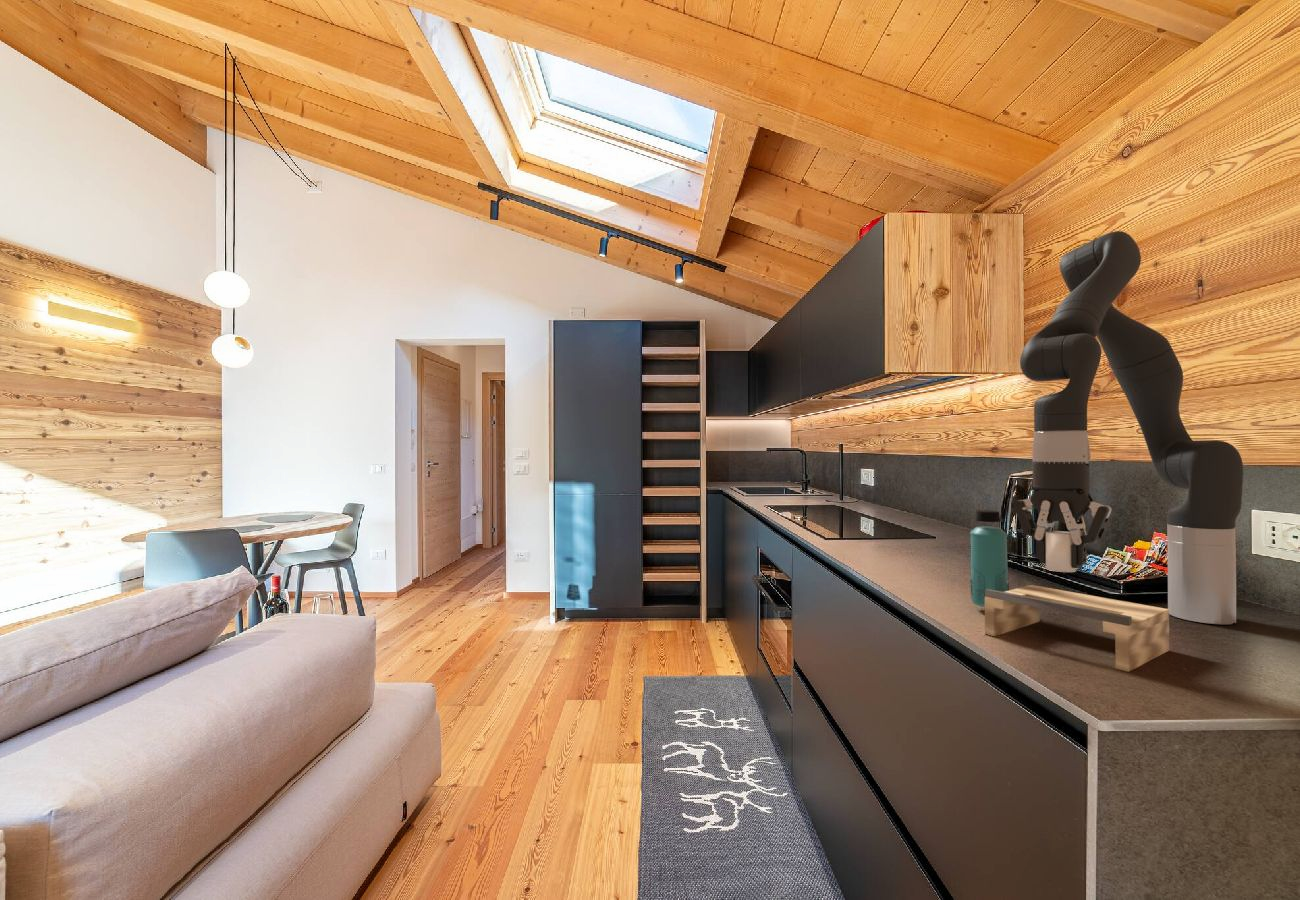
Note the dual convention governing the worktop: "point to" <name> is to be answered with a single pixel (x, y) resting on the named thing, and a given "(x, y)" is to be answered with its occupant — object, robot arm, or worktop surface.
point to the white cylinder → (1059, 551)
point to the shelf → (1132, 623)
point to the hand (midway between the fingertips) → (1060, 564)
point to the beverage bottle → (988, 558)
